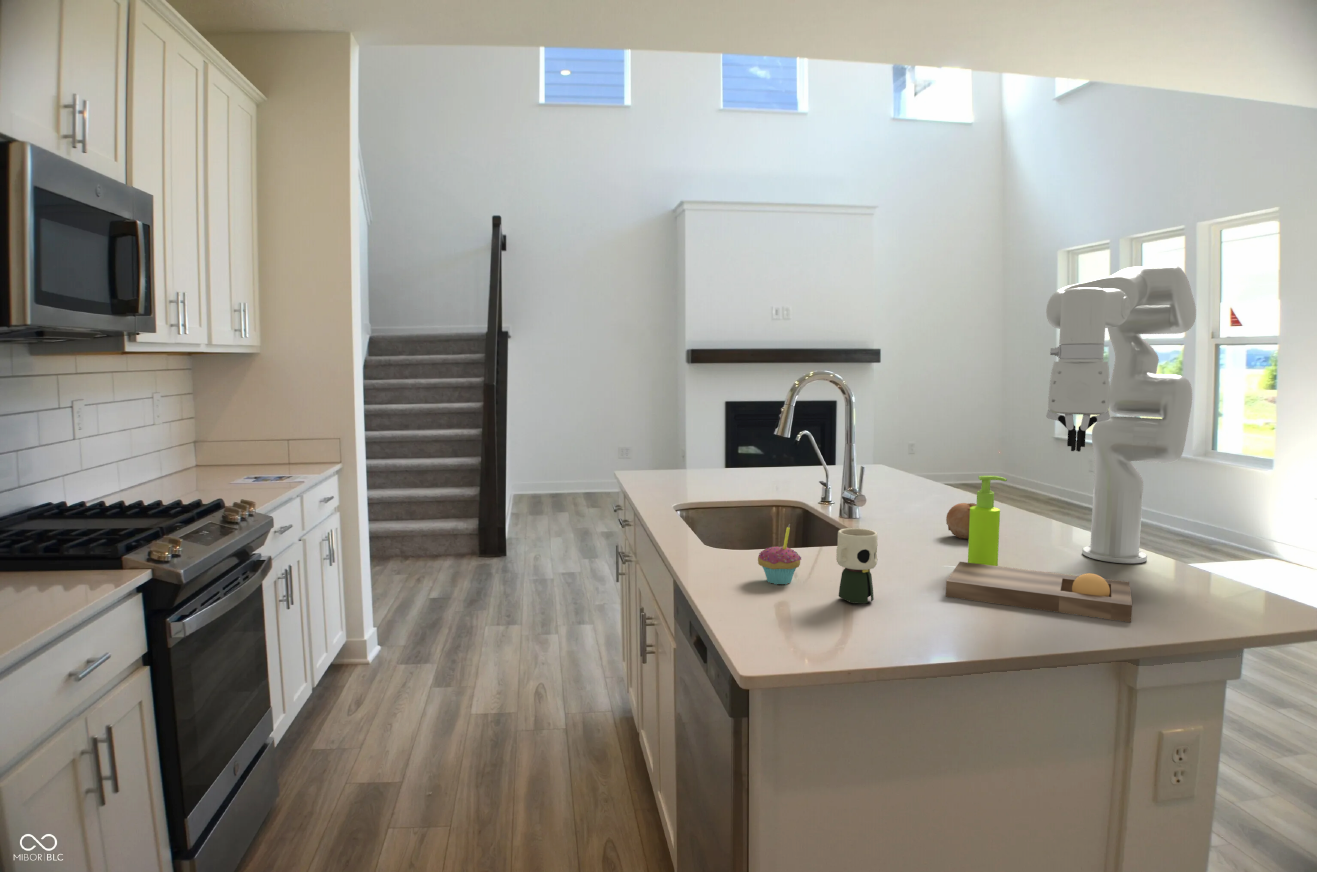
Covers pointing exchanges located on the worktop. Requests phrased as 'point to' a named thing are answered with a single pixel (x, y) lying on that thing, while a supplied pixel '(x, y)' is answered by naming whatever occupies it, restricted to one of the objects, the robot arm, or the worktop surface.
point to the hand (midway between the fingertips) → (1075, 450)
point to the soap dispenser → (984, 526)
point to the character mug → (856, 563)
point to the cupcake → (779, 562)
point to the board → (1037, 591)
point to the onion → (959, 520)
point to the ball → (1091, 585)
